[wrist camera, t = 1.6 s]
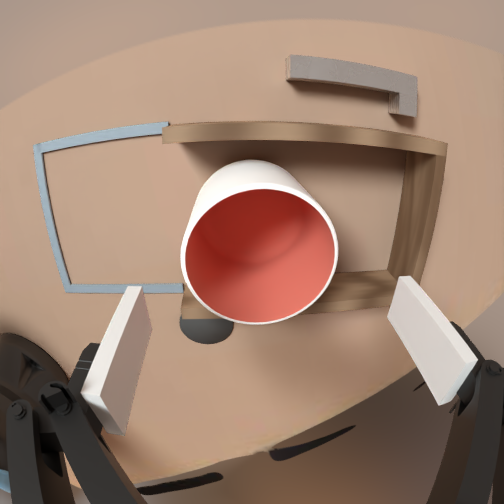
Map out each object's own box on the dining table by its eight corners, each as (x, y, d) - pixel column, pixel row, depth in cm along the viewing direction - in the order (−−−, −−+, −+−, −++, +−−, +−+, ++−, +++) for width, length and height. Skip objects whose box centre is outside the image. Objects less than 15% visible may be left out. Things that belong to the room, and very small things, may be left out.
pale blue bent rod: (66, 291, 30) (65, 292, 30) (34, 144, 22) (33, 145, 22) (183, 291, 31) (183, 292, 30) (168, 121, 23) (167, 121, 23)
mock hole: (183, 343, 34) (183, 344, 34) (176, 303, 31) (176, 304, 31) (233, 342, 34) (233, 343, 34) (231, 301, 32) (231, 302, 32)
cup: (205, 148, 25) (191, 169, 16) (315, 170, 26) (359, 203, 17) (189, 250, 29) (174, 315, 20) (288, 266, 30) (312, 331, 21)
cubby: (187, 288, 31) (182, 319, 26) (174, 124, 23) (161, 127, 19) (393, 278, 32) (413, 302, 28) (417, 135, 25) (447, 143, 20)
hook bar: (285, 101, 23) (290, 100, 21) (285, 58, 21) (290, 54, 20) (405, 116, 24) (416, 117, 22) (406, 77, 22) (417, 76, 20)
